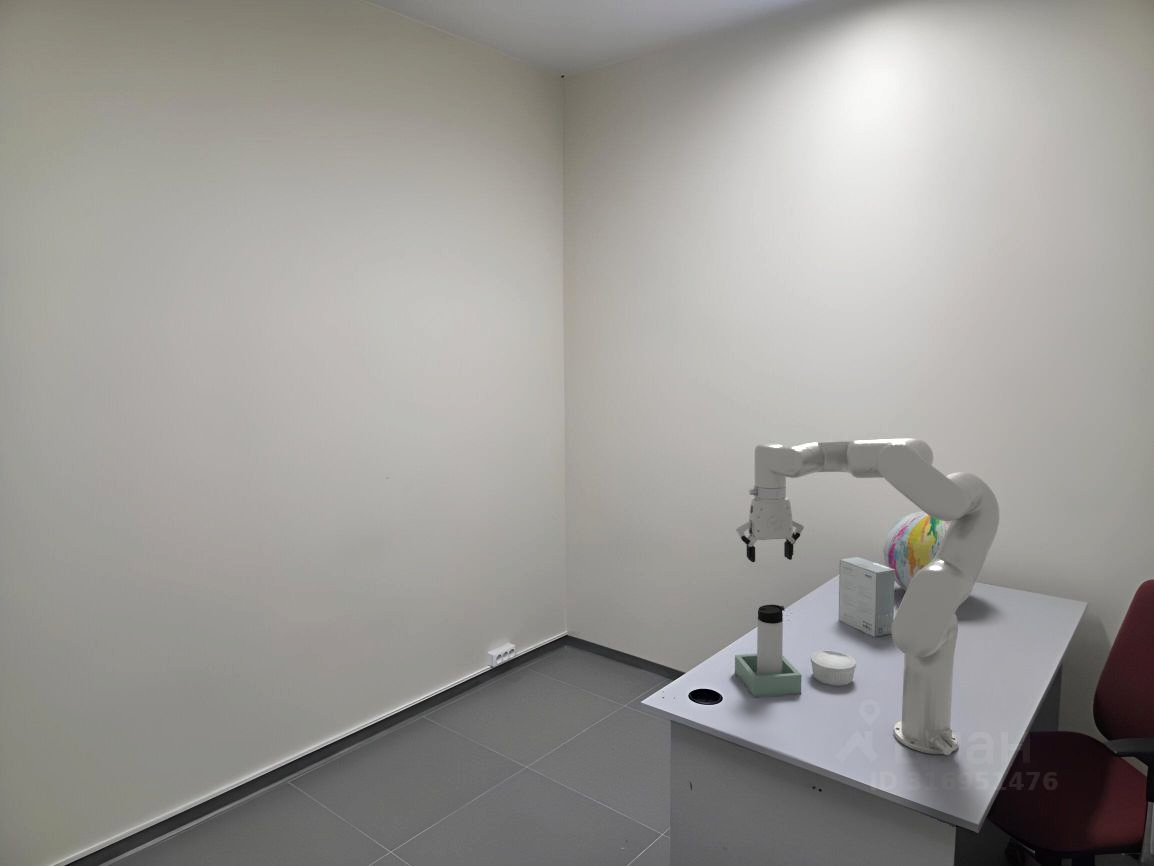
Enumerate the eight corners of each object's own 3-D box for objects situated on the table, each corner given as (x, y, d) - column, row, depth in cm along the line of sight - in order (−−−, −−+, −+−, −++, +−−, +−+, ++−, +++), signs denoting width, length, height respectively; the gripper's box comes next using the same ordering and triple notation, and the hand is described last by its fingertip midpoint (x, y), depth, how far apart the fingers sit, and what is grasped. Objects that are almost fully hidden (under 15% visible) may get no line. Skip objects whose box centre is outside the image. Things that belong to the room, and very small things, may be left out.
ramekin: (854, 671, 184) (855, 653, 184) (856, 691, 174) (857, 671, 173) (810, 666, 188) (811, 647, 187) (809, 684, 178) (810, 665, 177)
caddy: (801, 693, 173) (801, 674, 172) (753, 697, 171) (753, 678, 171) (779, 669, 186) (779, 651, 186) (734, 673, 185) (734, 655, 184)
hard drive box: (894, 633, 208) (896, 569, 206) (874, 638, 205) (876, 573, 203) (855, 616, 222) (857, 555, 220) (837, 619, 219) (838, 558, 217)
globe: (863, 588, 247) (865, 506, 244) (930, 578, 256) (933, 499, 253) (928, 618, 219) (932, 526, 215) (1001, 606, 228) (1006, 517, 224)
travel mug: (784, 687, 175) (785, 611, 173) (757, 685, 176) (758, 610, 174) (782, 676, 181) (783, 602, 179) (756, 674, 182) (757, 601, 180)
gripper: (742, 497, 168) (742, 566, 170) (809, 494, 170) (809, 561, 172) (731, 492, 175) (731, 557, 177) (796, 488, 178) (796, 553, 179)
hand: (769, 559), depth 175 cm, fingers open, 9 cm apart
